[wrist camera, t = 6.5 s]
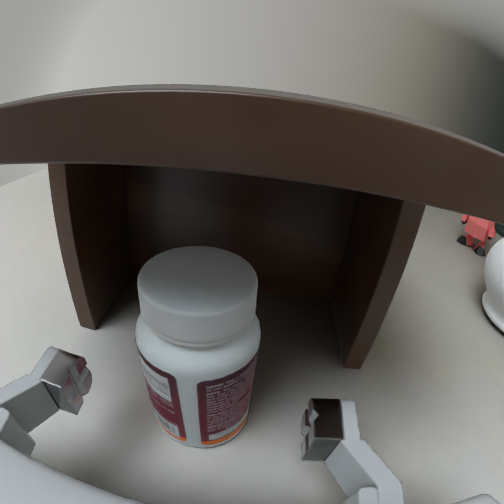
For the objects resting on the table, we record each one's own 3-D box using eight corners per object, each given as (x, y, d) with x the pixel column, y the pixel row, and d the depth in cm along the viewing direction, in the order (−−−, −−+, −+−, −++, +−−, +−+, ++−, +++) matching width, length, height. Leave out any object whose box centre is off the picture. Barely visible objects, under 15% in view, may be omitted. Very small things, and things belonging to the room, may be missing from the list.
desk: (125, 263, 25) (118, 86, 18) (343, 292, 25) (387, 111, 18) (22, 421, 11) (-95, 136, 4) (378, 488, 11) (585, 199, 4)
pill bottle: (247, 377, 17) (266, 244, 12) (247, 453, 13) (275, 329, 8) (162, 369, 16) (147, 235, 12) (146, 442, 12) (105, 312, 8)
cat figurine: (445, 237, 37) (470, 154, 31) (462, 231, 41) (484, 158, 35) (485, 263, 32) (515, 176, 26) (498, 254, 35) (524, 178, 30)
